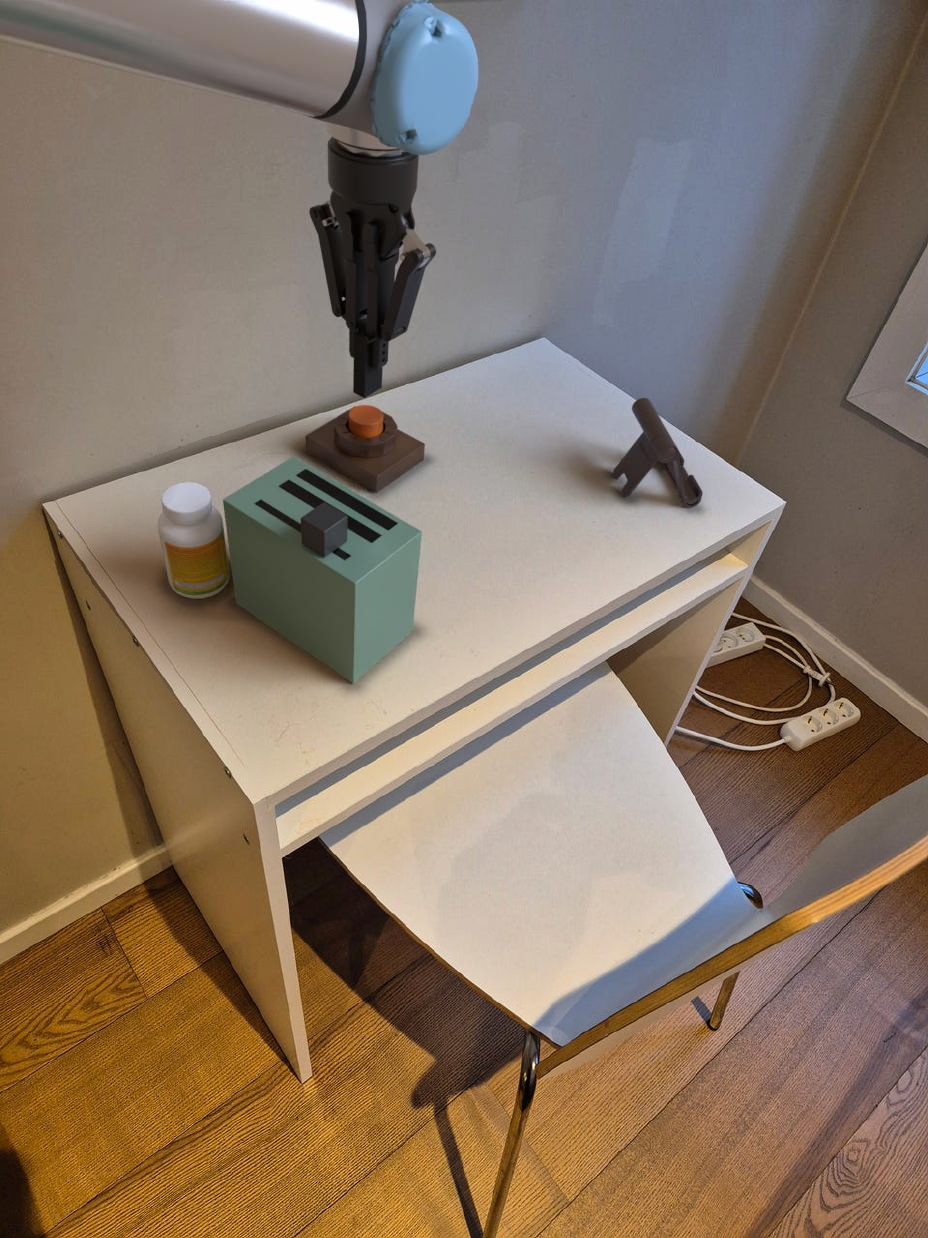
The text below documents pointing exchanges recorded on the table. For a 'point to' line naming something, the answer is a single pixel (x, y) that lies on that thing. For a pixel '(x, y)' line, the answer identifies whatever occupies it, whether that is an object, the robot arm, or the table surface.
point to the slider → (324, 529)
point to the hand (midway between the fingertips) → (367, 389)
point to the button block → (365, 451)
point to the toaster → (323, 568)
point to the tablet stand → (656, 456)
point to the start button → (366, 421)
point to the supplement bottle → (193, 541)
